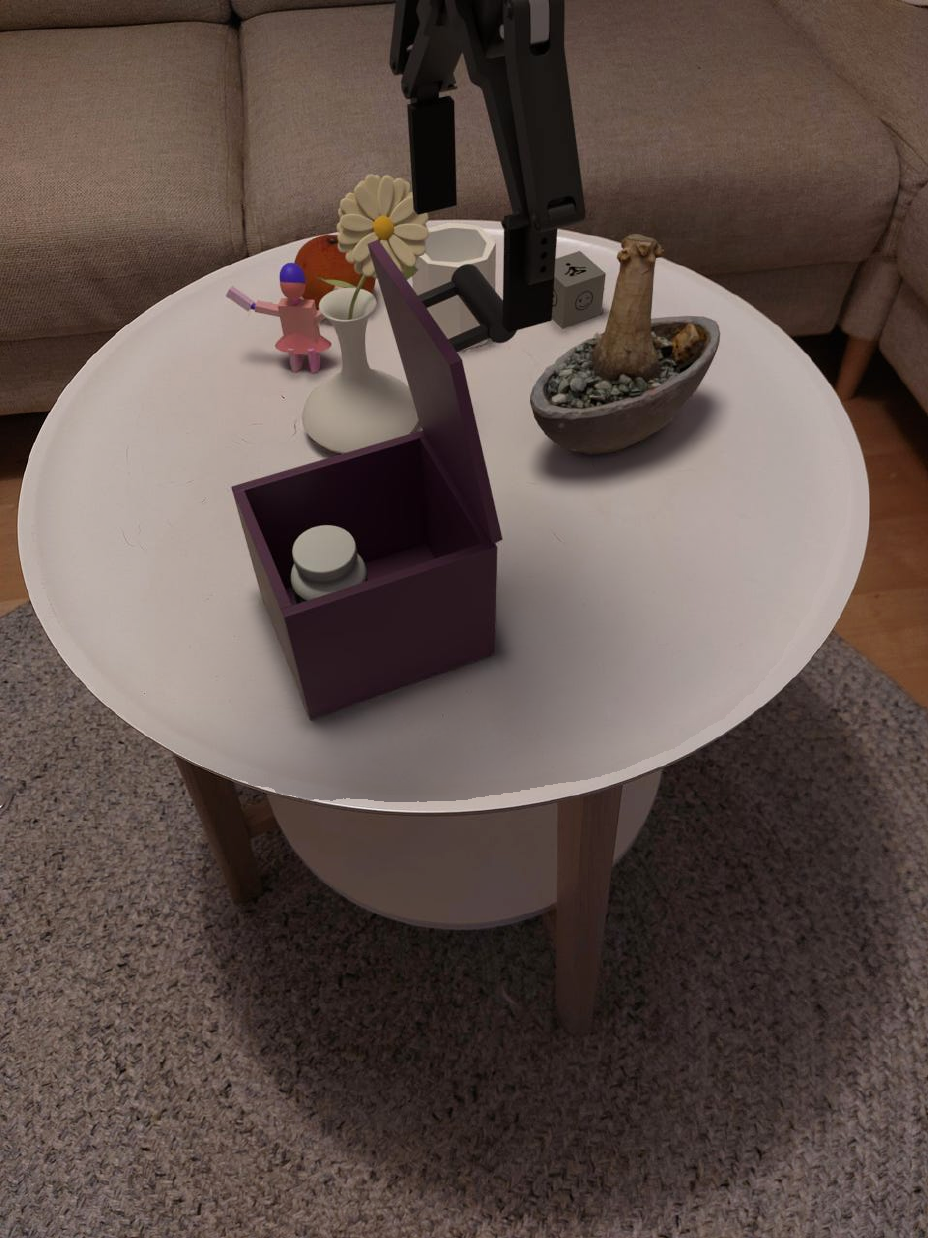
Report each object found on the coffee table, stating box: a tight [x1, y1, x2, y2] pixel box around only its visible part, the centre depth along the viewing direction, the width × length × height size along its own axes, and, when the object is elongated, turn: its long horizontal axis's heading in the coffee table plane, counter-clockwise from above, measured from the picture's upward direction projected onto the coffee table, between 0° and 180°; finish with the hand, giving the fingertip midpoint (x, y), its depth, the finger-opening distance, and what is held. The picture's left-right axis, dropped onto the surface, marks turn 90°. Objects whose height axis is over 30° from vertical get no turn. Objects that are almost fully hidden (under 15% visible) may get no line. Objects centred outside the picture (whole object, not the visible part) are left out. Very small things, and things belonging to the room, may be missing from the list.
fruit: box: [293, 234, 377, 311], centre depth 106 cm, size 9×9×8 cm
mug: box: [411, 221, 497, 352], centre depth 103 cm, size 12×9×10 cm
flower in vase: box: [301, 173, 429, 454], centre depth 86 cm, size 13×11×25 cm
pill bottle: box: [291, 525, 368, 604], centre depth 75 cm, size 6×6×10 cm
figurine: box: [225, 262, 344, 374], centre depth 98 cm, size 3×12×11 cm, turn 87°
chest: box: [230, 429, 498, 721], centre depth 76 cm, size 16×14×13 cm
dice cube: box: [552, 250, 607, 329], centre depth 105 cm, size 5×5×5 cm
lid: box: [368, 240, 518, 544], centre depth 66 cm, size 16×14×6 cm
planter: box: [529, 233, 721, 455], centre depth 87 cm, size 15×17×20 cm
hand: (478, 262), depth 59 cm, fingers open, 13 cm apart
